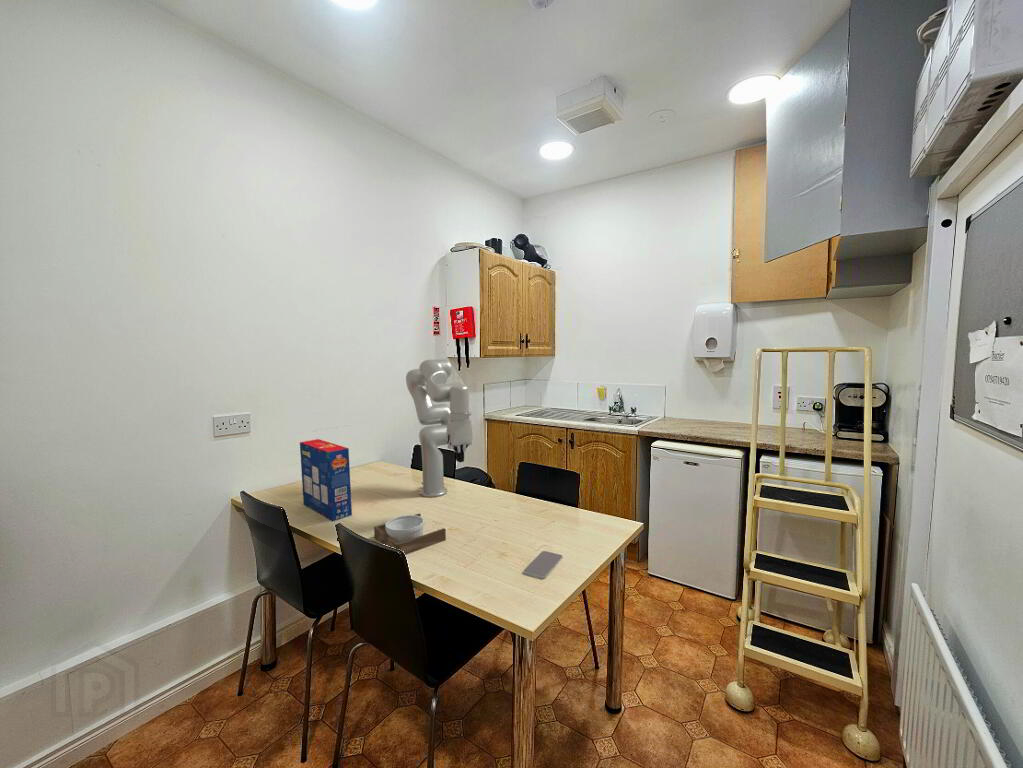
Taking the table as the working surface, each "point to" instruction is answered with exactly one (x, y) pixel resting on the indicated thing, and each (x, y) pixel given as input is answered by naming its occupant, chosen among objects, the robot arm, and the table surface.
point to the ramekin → (405, 527)
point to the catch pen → (410, 544)
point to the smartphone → (542, 564)
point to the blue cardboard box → (326, 478)
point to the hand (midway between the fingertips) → (460, 461)
